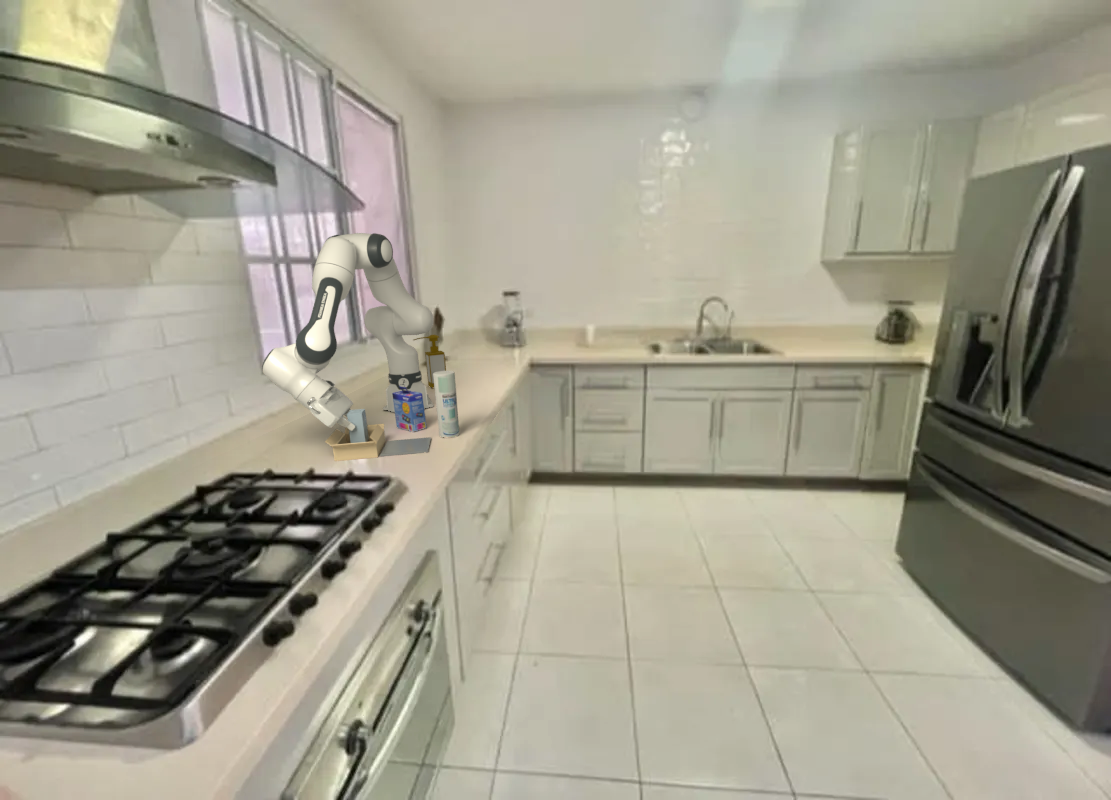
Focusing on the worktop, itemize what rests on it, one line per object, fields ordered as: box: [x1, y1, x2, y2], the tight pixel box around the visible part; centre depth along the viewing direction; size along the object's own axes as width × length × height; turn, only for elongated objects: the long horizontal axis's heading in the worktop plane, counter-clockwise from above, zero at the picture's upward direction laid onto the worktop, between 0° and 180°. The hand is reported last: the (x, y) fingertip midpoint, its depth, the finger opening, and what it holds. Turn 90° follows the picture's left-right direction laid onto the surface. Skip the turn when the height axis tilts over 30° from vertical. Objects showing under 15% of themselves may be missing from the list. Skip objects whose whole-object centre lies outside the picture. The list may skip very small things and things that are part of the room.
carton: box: [324, 423, 386, 462], centre depth 157 cm, size 19×14×6 cm
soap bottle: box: [412, 334, 447, 388], centre depth 243 cm, size 7×13×24 cm, turn 115°
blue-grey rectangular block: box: [346, 408, 369, 443], centre depth 156 cm, size 5×4×12 cm
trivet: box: [379, 436, 432, 457], centre depth 159 cm, size 13×13×1 cm
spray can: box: [433, 370, 460, 438], centre depth 167 cm, size 6×6×20 cm
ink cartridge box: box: [392, 386, 427, 432], centre depth 178 cm, size 10×6×14 cm, turn 51°
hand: (356, 425), depth 156 cm, fingers closed on blue-grey rectangular block, 5 cm apart
